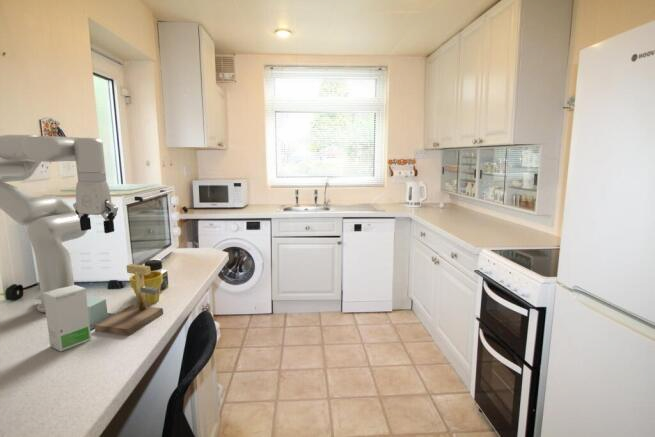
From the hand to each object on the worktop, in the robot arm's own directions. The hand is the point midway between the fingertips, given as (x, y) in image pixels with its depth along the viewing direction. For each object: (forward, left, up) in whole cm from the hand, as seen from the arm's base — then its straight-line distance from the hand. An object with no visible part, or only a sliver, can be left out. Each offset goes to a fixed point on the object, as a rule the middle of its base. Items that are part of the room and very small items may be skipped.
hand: (97, 231), depth 119 cm
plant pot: (+7, +11, -28) cm, 31 cm away
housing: (+13, -5, -28) cm, 31 cm away
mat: (+1, -7, -28) cm, 29 cm away
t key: (+15, +1, -25) cm, 29 cm away
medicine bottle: (+2, +21, -28) cm, 35 cm away
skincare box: (+6, -19, -28) cm, 34 cm away
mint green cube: (+1, -7, -27) cm, 28 cm away
